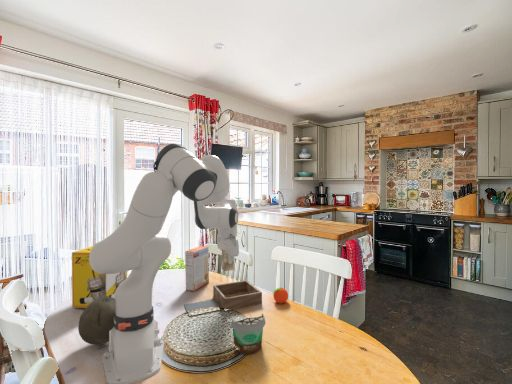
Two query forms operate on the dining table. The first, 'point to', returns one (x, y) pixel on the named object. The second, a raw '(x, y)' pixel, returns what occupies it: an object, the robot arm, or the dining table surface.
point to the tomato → (280, 295)
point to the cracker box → (197, 268)
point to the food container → (248, 334)
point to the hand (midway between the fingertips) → (227, 261)
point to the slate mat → (201, 305)
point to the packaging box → (91, 280)
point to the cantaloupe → (97, 320)
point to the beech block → (226, 262)
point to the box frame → (237, 301)
